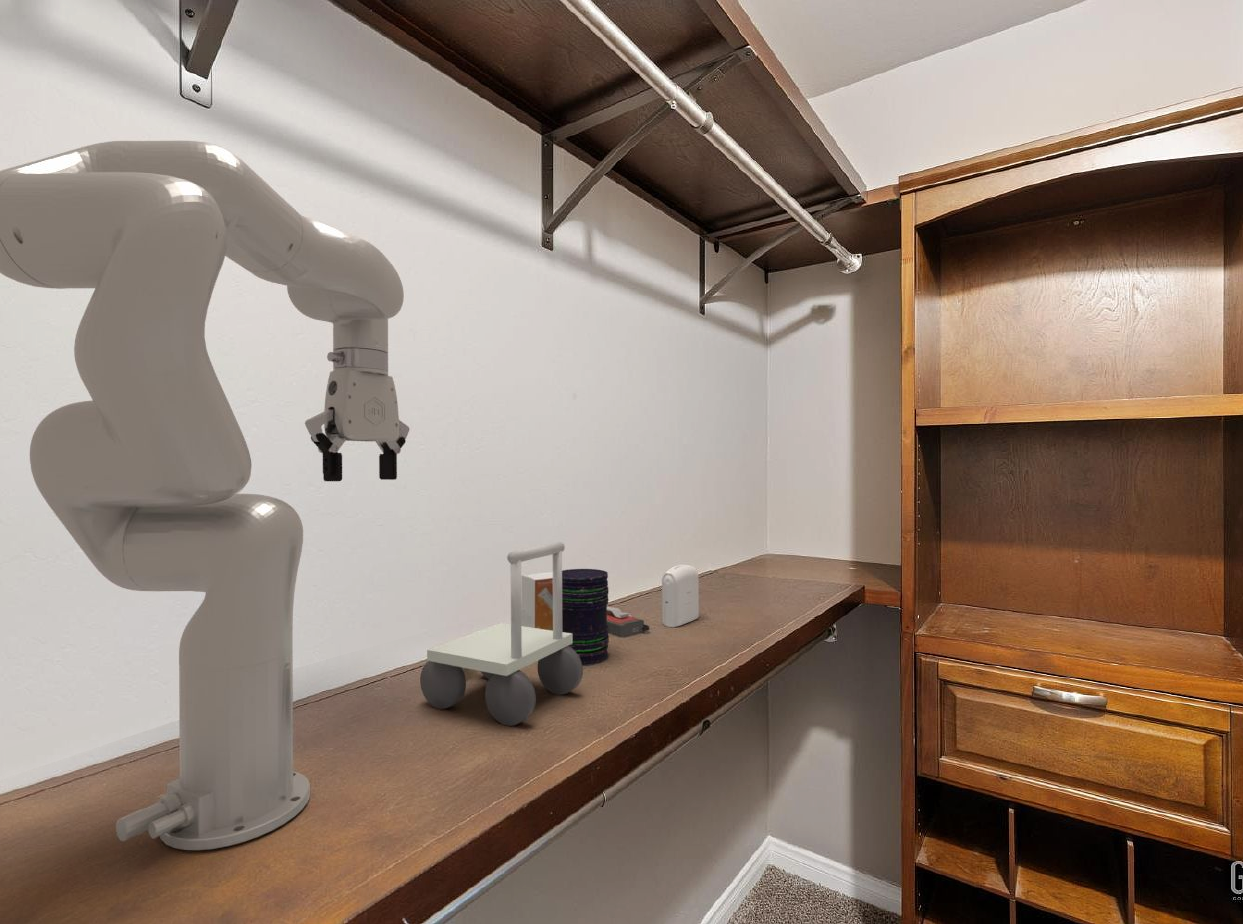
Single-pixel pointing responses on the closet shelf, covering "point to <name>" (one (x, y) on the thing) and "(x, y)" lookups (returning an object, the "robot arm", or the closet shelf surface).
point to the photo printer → (680, 595)
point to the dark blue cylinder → (586, 613)
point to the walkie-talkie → (624, 623)
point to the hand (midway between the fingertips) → (361, 480)
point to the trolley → (507, 654)
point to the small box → (537, 601)
